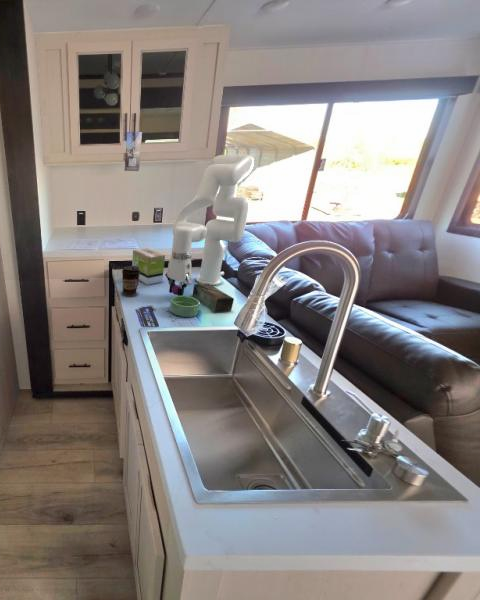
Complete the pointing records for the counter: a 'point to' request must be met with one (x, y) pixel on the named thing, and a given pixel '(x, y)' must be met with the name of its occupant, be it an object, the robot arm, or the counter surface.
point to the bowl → (184, 306)
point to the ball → (175, 289)
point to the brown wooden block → (212, 297)
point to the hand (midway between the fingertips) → (176, 293)
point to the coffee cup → (130, 280)
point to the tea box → (149, 265)
